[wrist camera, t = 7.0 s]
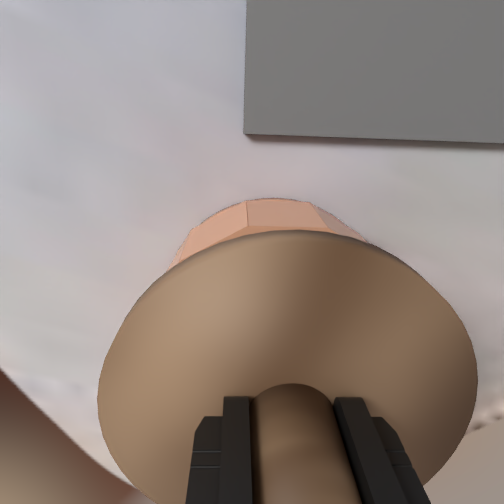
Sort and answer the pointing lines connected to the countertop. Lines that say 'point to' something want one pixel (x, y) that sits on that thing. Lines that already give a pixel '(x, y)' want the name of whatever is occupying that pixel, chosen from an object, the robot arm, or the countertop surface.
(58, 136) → the countertop surface
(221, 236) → the bowl
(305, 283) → the lid
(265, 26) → the mat
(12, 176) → the countertop surface
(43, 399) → the countertop surface
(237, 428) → the robot arm
